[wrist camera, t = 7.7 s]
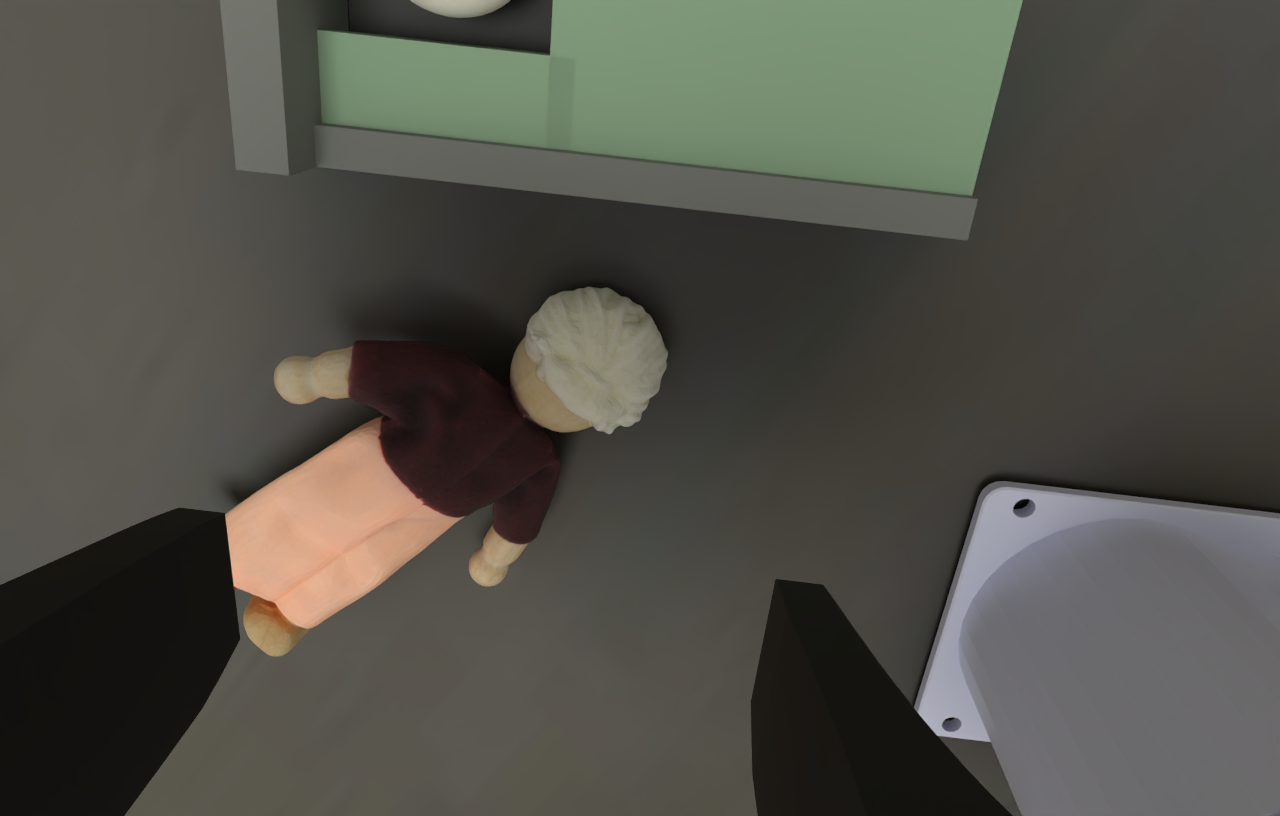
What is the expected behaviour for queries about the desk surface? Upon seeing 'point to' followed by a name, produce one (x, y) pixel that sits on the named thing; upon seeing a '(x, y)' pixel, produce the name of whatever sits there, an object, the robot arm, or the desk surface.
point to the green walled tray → (646, 104)
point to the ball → (461, 7)
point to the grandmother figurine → (433, 456)
